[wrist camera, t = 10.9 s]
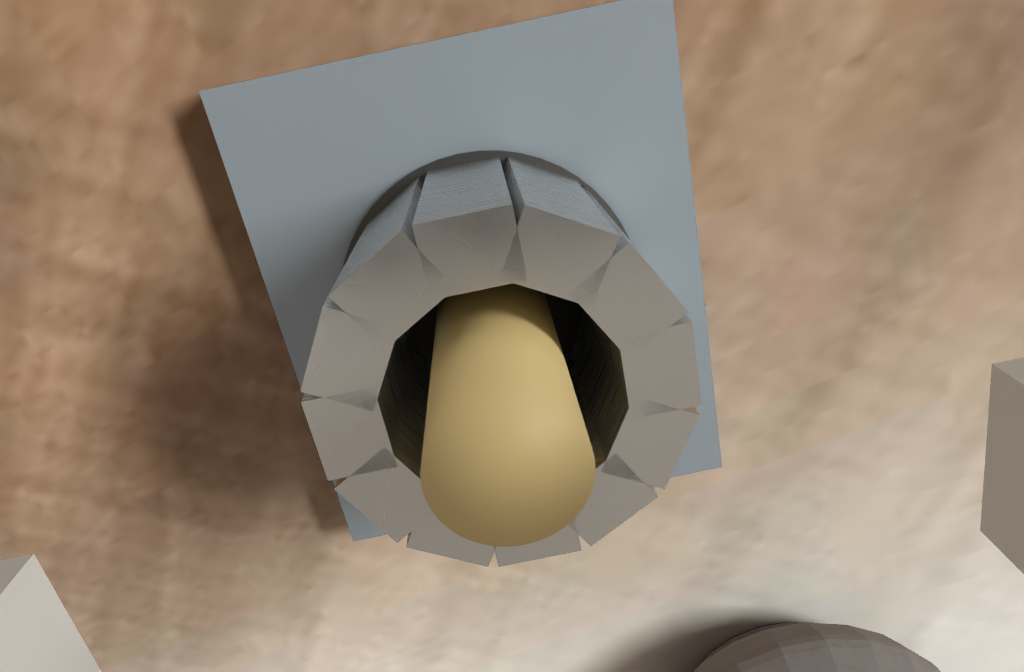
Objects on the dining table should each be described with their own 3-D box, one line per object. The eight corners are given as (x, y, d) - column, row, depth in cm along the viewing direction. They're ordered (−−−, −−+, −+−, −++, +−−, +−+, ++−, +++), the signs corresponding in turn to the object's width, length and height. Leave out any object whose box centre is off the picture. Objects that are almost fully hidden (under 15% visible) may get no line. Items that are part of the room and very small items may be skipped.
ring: (312, 195, 19) (251, 258, 14) (614, 132, 19) (675, 169, 14) (391, 455, 22) (366, 592, 17) (652, 402, 22) (715, 523, 17)
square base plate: (213, 87, 20) (-21, 134, 10) (660, -8, 19) (844, -52, 10) (358, 518, 25) (291, 812, 15) (710, 447, 25) (862, 702, 15)
